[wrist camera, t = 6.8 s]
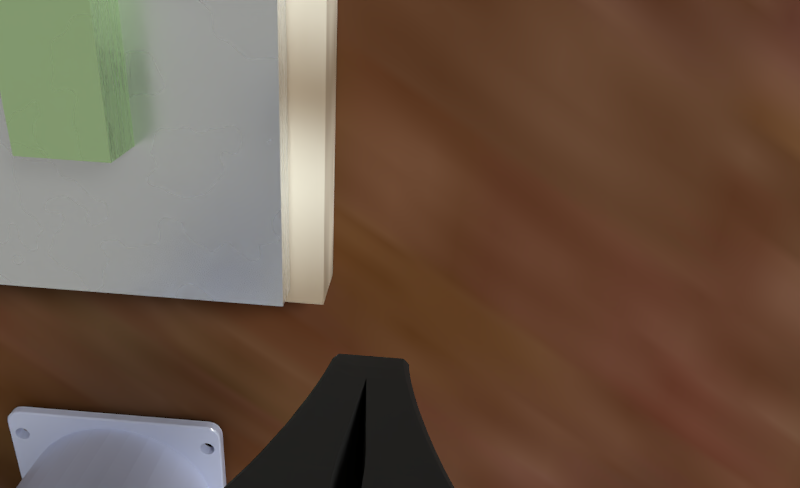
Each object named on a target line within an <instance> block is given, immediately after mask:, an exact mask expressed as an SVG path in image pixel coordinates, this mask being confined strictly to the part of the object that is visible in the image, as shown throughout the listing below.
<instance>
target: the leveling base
mask: <svg viewBox="0 0 800 488" xmlns="http://www.w3.org/2000/svg"><path fill="white" fill-rule="evenodd" d="M286 36H287V111H288V186H289V261H290V290H289V293H288V295H287V298H286V300H285V302H296V303H309V304H322V305H323V304H324V301H325V297H326V294H327V291H328V287H329V284H330V281H331V278H332V274H333V225H334V168H335V110H336V53H337V0H286Z"/></svg>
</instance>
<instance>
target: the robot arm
mask: <svg viewBox="0 0 800 488" xmlns="http://www.w3.org/2000/svg"><path fill="white" fill-rule="evenodd" d="M8 425H9V429H10V433H11V437H12V441H13V445H14V449H15V453H16V457H17V461H18V465H19V469H20V473H21V477H22V480H21V482H20V483H19V484H18V486H17V487H16V488H454V487H453V485H452V483H451V481H450V479H449V477H448V475H447V474H446V472H445V470H444V468H443V466H442V464H441V461H440V459H439V457H438V455H437V453H436V451H435V449H434V447H433V444H432V442H431V440H430V437H429V435H428V432H427V430H426V427H425V425H424V422H423V420H422V417H421V414H420V412H419V409H418V406H417V402H416V399H415V396H414V392H413V388H412V384H411V379H410V373H409V364H408V363H407V362H406V361H405V360H404V359H398V358H385V357H373V356H360V355H348V354H338V355H337V356H335V357H334V358H333V359H332V361H331V363H330V364H329V366H328V368H327V369H326V371H325V373H324V374H323V376H322V377H321V379H320V380H319V382H318V383H317V385H316V386H315V387H314V389H313V390H312V392H311V393H310V394H309V396H308V397H307V398H306V400H305V401H304V402H303V404H302V405H301V406H300V407H299V409H298V410H297V411H296V412H295V414H294V415H293V416H292V418H291V419H290V420H289V421H288V422H287V424H286V425H285V426H284V427H283V428H282V429H281V430H280V432H279V433H278V434H277V435H276V436H275V437H274V438H273V439H272V440H271V441H270V443H269V444H268V445H267V446H266V447H265V448H264V449H263V450H262V451H261V452H260V453H259V455H258V456H257V457H256V458H255V459H254V460H253V461H252V462H251V463H250V464H249V465H248V466H247V467H245V468H244V469H243V470H242V471H241V472H240V473H239V474H238V475H237V476H236V477H235V478H234V479H233V480H232V481H230V482H229V483H228V484H227V485H226V474H225V460H224V446H223V433H222V430H221V428H220V427H219V426H218V425H217V424H215V423H212V422H208V421H195V420H183V419H171V418H159V417H146V416H134V415H122V414H110V413H97V412H85V411H73V410H61V409H48V408H36V407H24V406H22V407H17V408H15V409H14V410H13V411H12V412H11V413H10V414H9V416H8ZM24 429H26V430H27V431H26V430H24ZM205 443H208V444H211V445H212V446H213V447H210V446H207V445H206V444H205Z"/></svg>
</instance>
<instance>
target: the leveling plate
mask: <svg viewBox="0 0 800 488" xmlns="http://www.w3.org/2000/svg"><path fill="white" fill-rule="evenodd" d="M0 284H1V285H14V286H26V287H39V288H52V289H65V290H78V291H91V292H104V293H116V294H129V295H142V296H155V297H168V298H181V299H193V300H206V301H219V302H232V303H245V304H258V305H271V306H283V305H284V303H285V300H286V298H287V295H288V293H289V290H290V261H289V186H288V111H287V36H286V0H0Z"/></svg>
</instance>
